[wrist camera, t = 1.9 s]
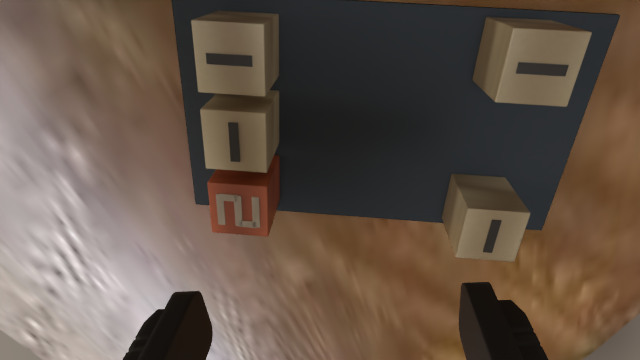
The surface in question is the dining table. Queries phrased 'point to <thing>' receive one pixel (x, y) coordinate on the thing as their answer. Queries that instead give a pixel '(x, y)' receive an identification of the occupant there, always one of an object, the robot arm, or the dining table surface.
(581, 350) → the dining table surface
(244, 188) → the red block
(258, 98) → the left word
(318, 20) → the word mat
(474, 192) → the letter block row
